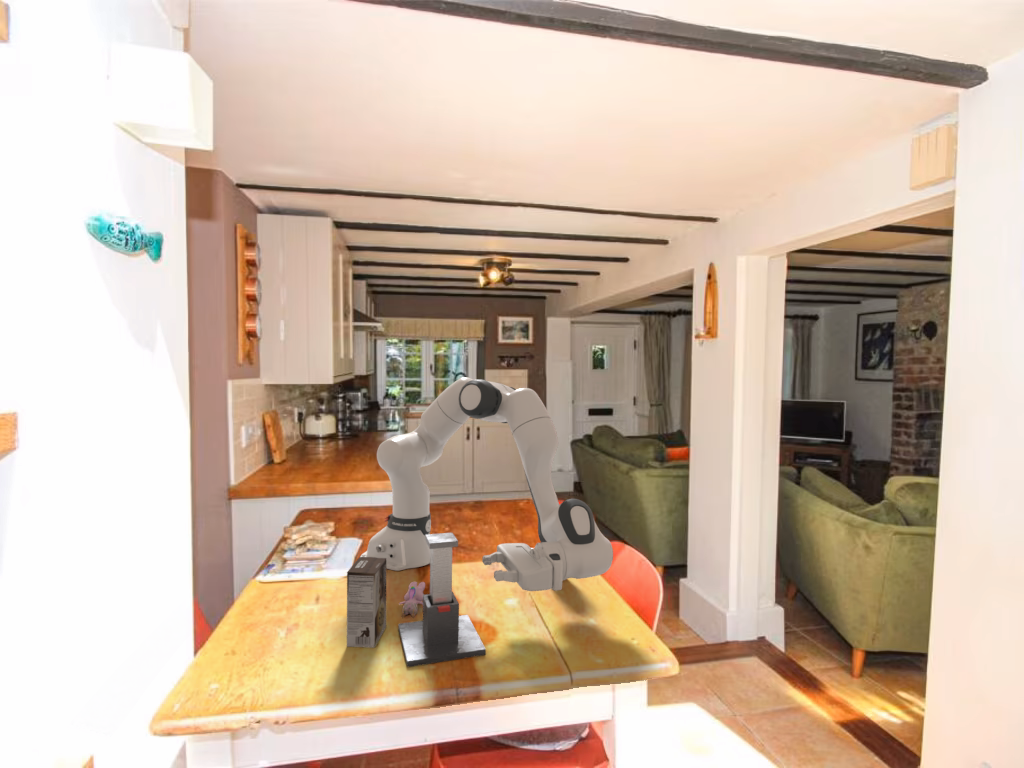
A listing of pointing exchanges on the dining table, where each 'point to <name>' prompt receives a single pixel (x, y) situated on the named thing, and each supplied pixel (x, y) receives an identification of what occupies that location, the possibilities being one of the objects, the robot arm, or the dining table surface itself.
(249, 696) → the dining table surface
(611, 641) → the dining table surface
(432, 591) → the steel column
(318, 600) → the dining table surface
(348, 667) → the dining table surface
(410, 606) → the rabbit figure
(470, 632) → the stand base
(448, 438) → the robot arm
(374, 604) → the coffee box
